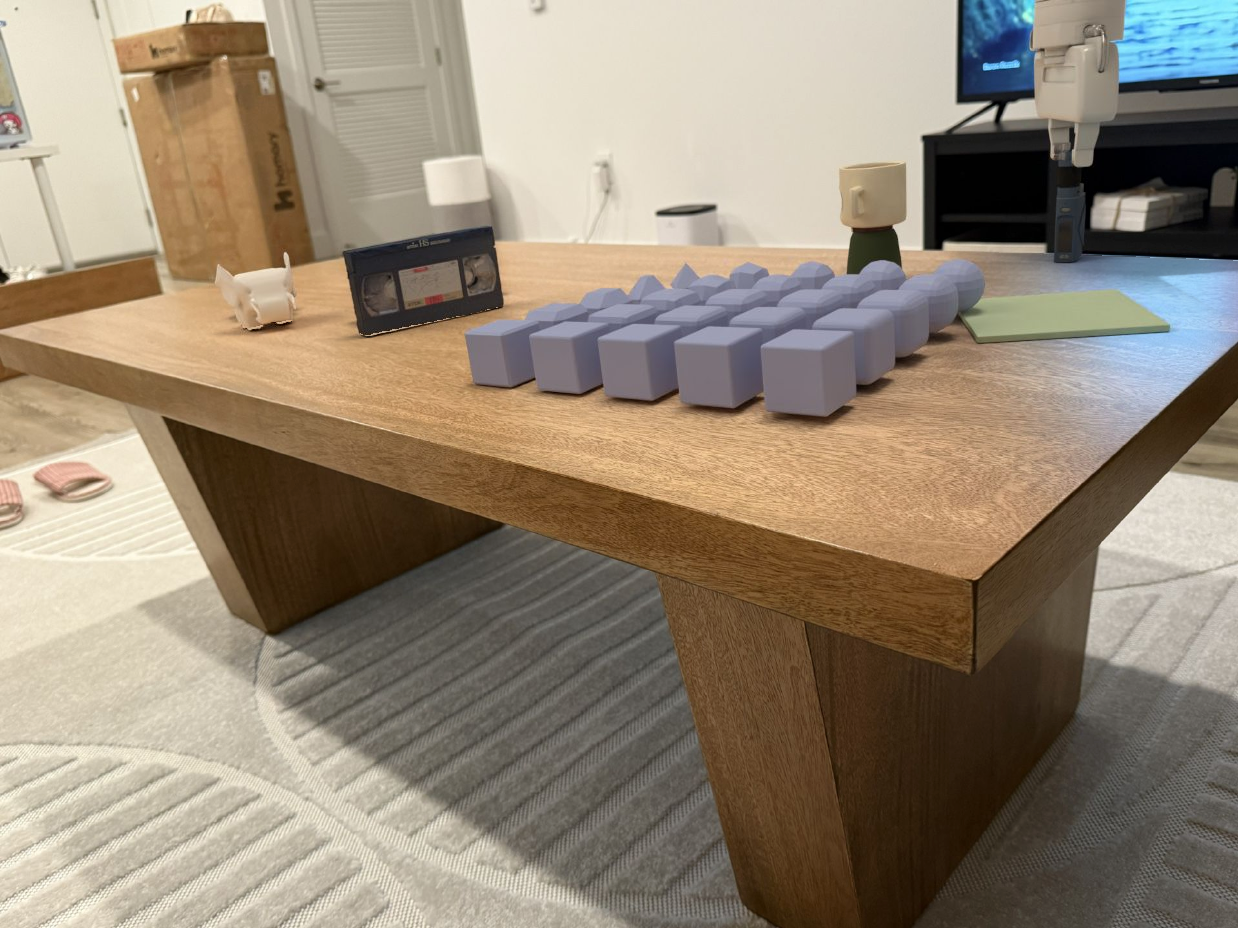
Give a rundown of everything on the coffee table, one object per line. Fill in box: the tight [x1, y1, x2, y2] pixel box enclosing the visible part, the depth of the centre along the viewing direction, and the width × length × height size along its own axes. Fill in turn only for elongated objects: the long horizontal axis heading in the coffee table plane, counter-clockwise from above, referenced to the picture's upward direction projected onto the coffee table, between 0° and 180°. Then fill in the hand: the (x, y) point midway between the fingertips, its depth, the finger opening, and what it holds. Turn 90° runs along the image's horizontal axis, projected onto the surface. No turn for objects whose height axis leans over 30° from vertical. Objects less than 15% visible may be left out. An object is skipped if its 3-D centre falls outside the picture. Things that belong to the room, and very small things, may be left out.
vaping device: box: [1053, 150, 1087, 263], centre depth 111 cm, size 3×5×12 cm, turn 145°
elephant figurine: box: [214, 251, 298, 328], centre depth 126 cm, size 10×12×9 cm
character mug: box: [838, 160, 907, 274], centre depth 110 cm, size 11×7×13 cm, turn 143°
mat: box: [957, 288, 1171, 344], centre depth 89 cm, size 15×15×1 cm
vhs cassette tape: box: [342, 225, 505, 335], centre depth 118 cm, size 18×3×10 cm, turn 123°
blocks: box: [464, 258, 986, 418], centre depth 90 cm, size 35×34×5 cm
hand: (1070, 163), depth 110 cm, fingers open, 8 cm apart
